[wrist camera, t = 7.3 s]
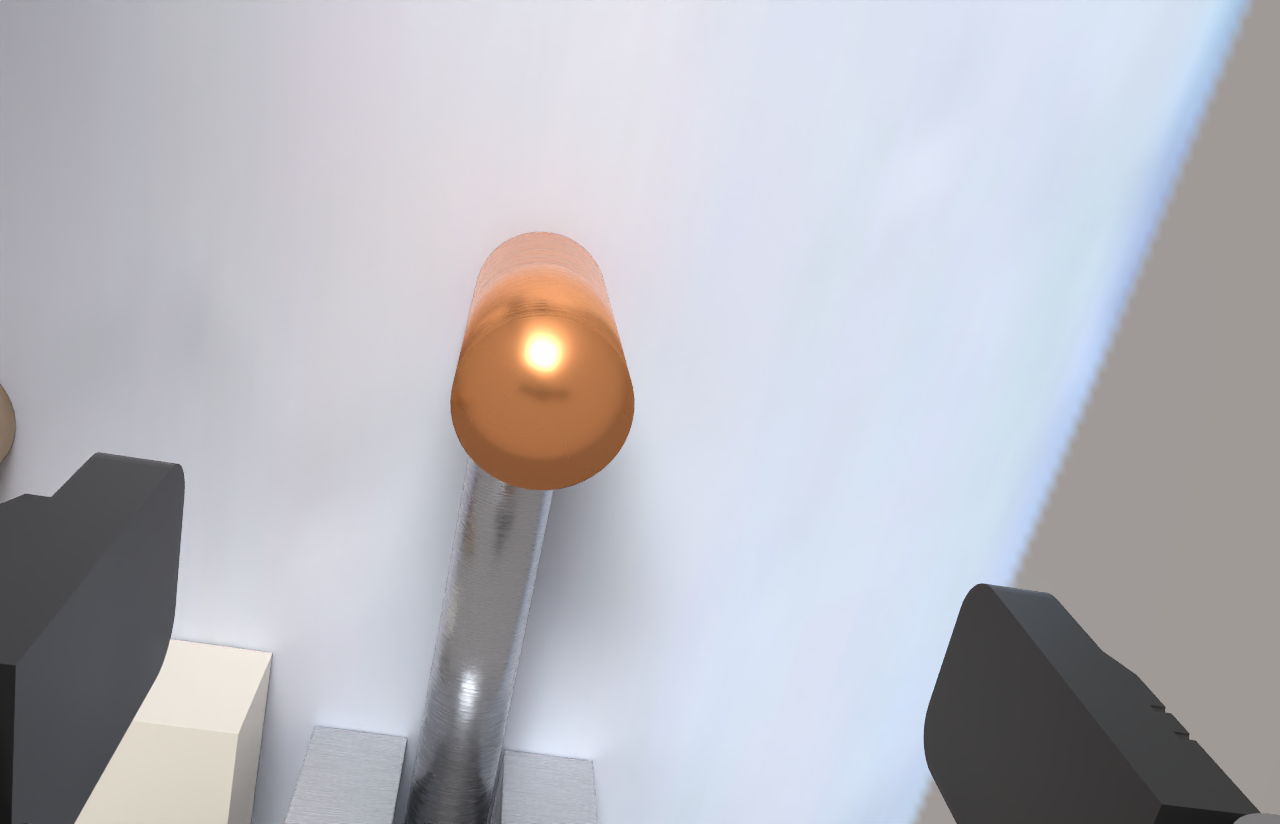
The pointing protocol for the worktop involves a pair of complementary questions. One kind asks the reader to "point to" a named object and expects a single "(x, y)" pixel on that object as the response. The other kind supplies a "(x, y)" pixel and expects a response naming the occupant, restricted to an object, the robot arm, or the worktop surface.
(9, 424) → the dowel
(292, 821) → the pin mount
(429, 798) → the lock pin
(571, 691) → the worktop surface
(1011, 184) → the worktop surface
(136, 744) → the socket block
